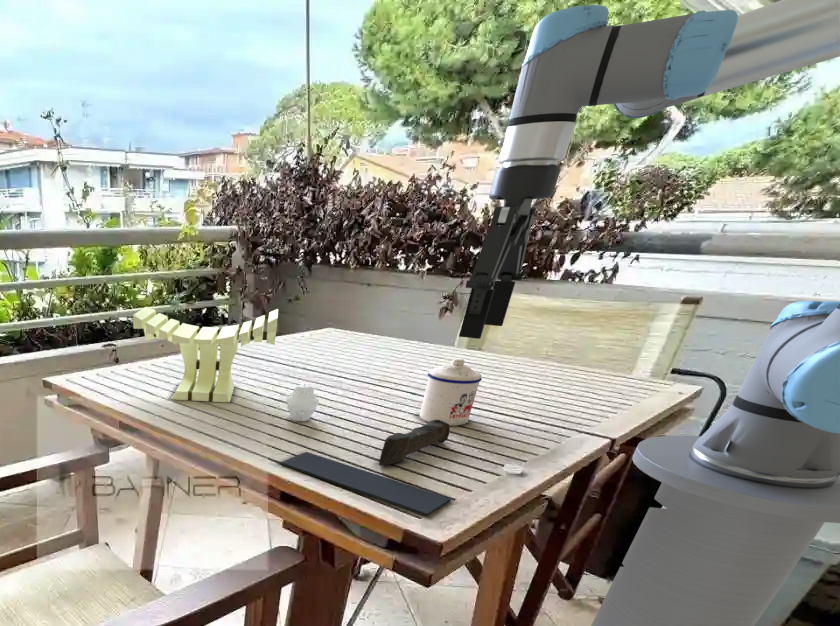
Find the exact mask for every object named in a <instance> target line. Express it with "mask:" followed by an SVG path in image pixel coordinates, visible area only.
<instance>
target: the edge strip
mask: <svg viewBox="0 0 840 626" xmlns="http://www.w3.org/2000/svg"><path fill="white" fill-rule="evenodd" d="M280 465H281V466H284V467H287V468H290V469H292V470H295V471H297V472H301V473H303V474H307V475H308V476H313V477H315V478H317V479H320V480H323V481H327V482H330V483H332V484H335V485H337V486H340V487H343V488H346V489H349V490H352V491H354V492H357V493H360V494H364V495H366V496H368V497H372V498H374V499H377V500H379V501H383V502H386V503H388V504H391V505H393V506H397V507H399V508H401V509H405V510H408V511H411V512H414V513H417V514H419V515H422V516H425V517H428V516H430V515H431V514H432V513H434V512H436V511H437V510H439V509H440V508H442V507H443V506H445V505H446V504H448V503H449V502H451V500H452V498H450V497H447V496H445V495H441V494H438V493H435V492H432V491H429V490H426V489H423V488H421V487H420V488H419V487H417V486H413V485H411V484H407V483H404V482H401V481H399V480H395V479H392V478H389V477H386V476H383V475H380V474H377V473H373V472H370V471H367V470H364V469H361V468H358V467H355V466H352V465H349V464H345V463H343V462H339V461H337V460H333V459H331V458H327V457H324V456H321V455H317V454H315V453H312V452H309V451H305V452H303V453H300V454H298V455H295V456H293V457H290V458H288V459H286V460H282V461H281V462H280Z"/></svg>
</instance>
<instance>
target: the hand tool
mask: <svg viewBox="0 0 840 626" xmlns="http://www.w3.org/2000/svg"><path fill="white" fill-rule="evenodd" d="M450 427H451V426H449V424H448V423H445V422H444V421H440V420H431V421H429V422H427V423H426V424H424V425H421V426H418V427H414V428H413V429H412V430H411V431H409V432H406V433H403V432H396V433H394V434H391V435H388V436H387V437H386V438H385V441H384V442H383V447H382V449H381V452H380V458H379V462H378V466H388V465H393V464H396V463H401V462H404V460H405V459H406V457H407V456H409V455H410V454H414V453H416V452H419V451H420V450H422V449H424V448H427V447H429V446H431V445H433V444H436V443H438V444H443V443H445V442H446V441H448V439H449V436H450V432H451V428H450Z"/></svg>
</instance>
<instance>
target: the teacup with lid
mask: <svg viewBox="0 0 840 626" xmlns="http://www.w3.org/2000/svg"><path fill="white" fill-rule="evenodd" d="M427 376H428V378H427V381H426V382H427V383H426V387H425V390H424V395H423V399H422V403H421V406H420V411H419V412H420V413H419V418H421V419H422V420H423V421H425V422H427V423H428V422H429V421H431V420H440V421H444V422H445V423H448V424H449V426H450V427H451V426H453V427H455V426H463V425H465V424H467V423H468V422H469V418H470V416H471V412H472V409H473V405H474V402H475V399H476V395H477V391H478V388H479V384H480V382H481V381H482V379H483V378H482V374H481V373H480V372H479V371H476V370H473V369H472V368H471V367H470V366H468V365H467V364H465V359H463V358H453V359H452V361H451V362H450V363H447V364H444V365H442V366H439V367H434V368H432V369H430V371H429V372H428V373H427Z"/></svg>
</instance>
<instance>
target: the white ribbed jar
mask: <svg viewBox="0 0 840 626" xmlns="http://www.w3.org/2000/svg"><path fill="white" fill-rule="evenodd" d="M291 393H292V394H290V395H288V397H287V398H286V405H287V409H288V413H289V415H290V417H291V420H293V421H296V422H307V421H309V420H310V419H311V417H312V416H313V414H314V413H315V411H316V410H317V408H318V407H319V404H320V400H319V398H318V397H317V396H316V394H315V392H314V388H313V387H312V386H311V385H309V384H306V383H305V384H299V385H297V386H296V387H295V388H294V391H293V392H291Z"/></svg>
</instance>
